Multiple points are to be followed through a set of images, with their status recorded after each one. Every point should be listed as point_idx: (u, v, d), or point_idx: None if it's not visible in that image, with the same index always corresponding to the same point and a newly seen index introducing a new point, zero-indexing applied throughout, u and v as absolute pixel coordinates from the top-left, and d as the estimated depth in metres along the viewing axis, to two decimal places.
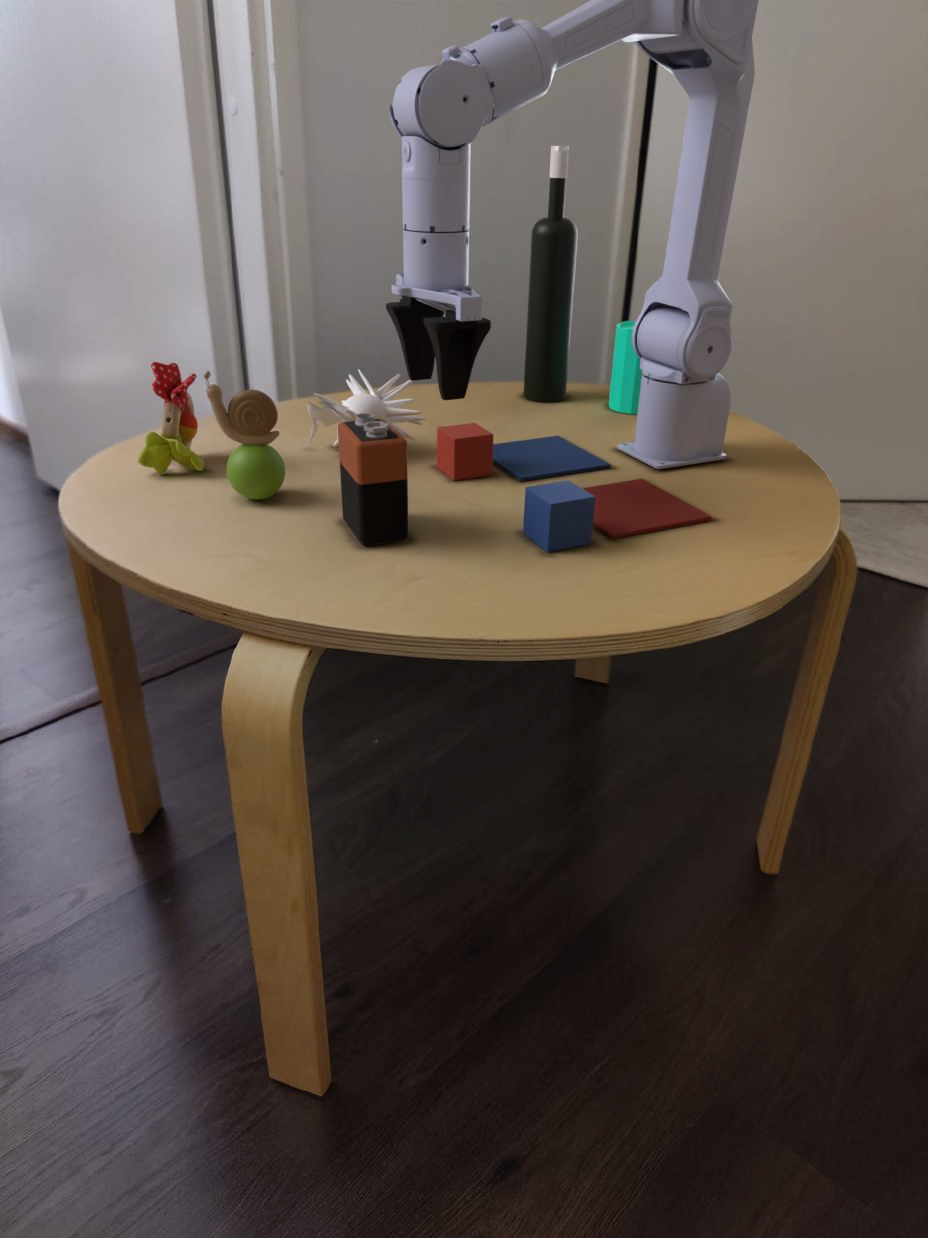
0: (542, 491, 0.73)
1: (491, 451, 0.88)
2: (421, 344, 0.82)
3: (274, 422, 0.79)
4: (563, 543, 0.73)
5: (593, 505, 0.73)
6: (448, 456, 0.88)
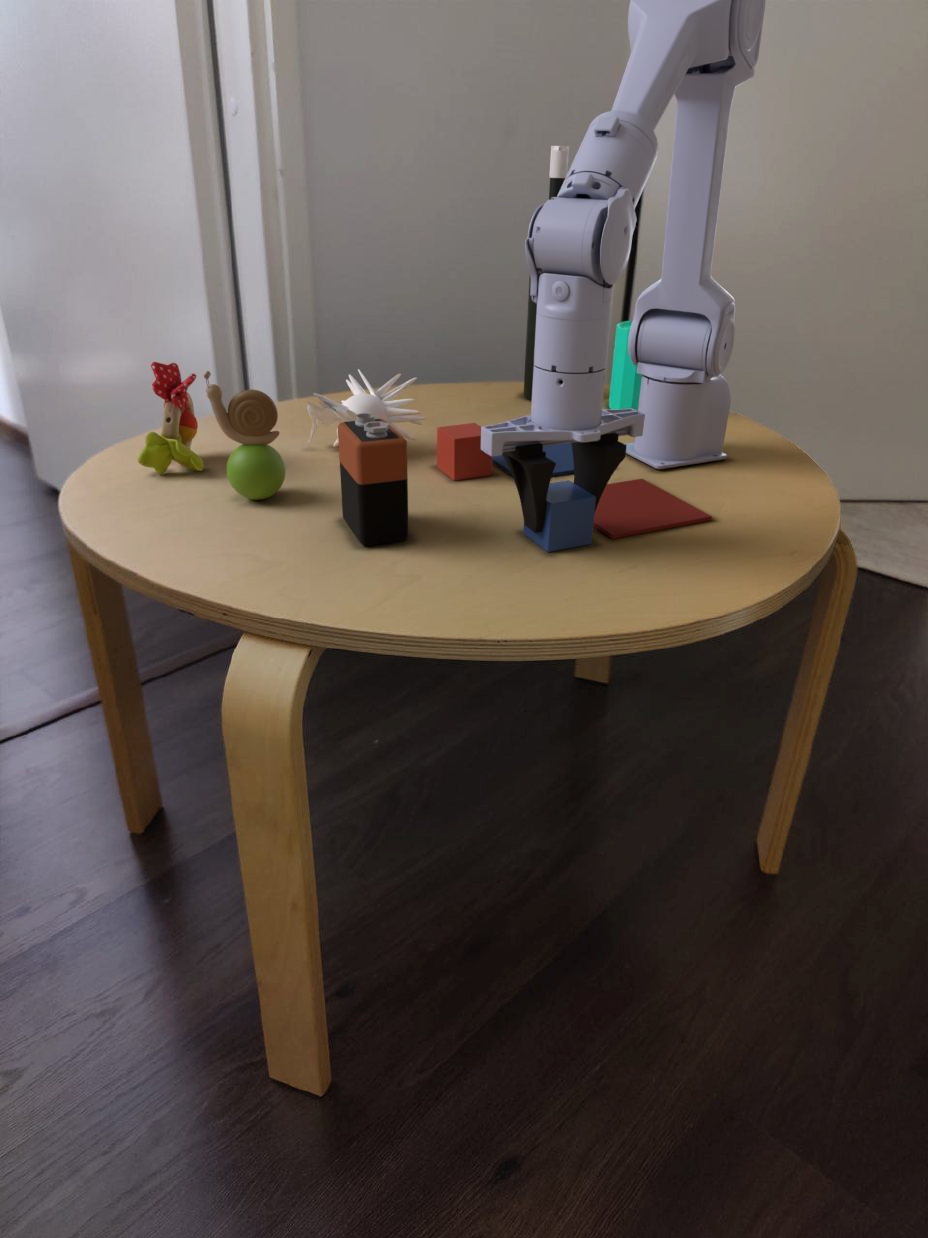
0: None
1: None
2: None
3: (274, 422, 0.79)
4: (563, 543, 0.73)
5: (593, 505, 0.73)
6: (448, 456, 0.88)
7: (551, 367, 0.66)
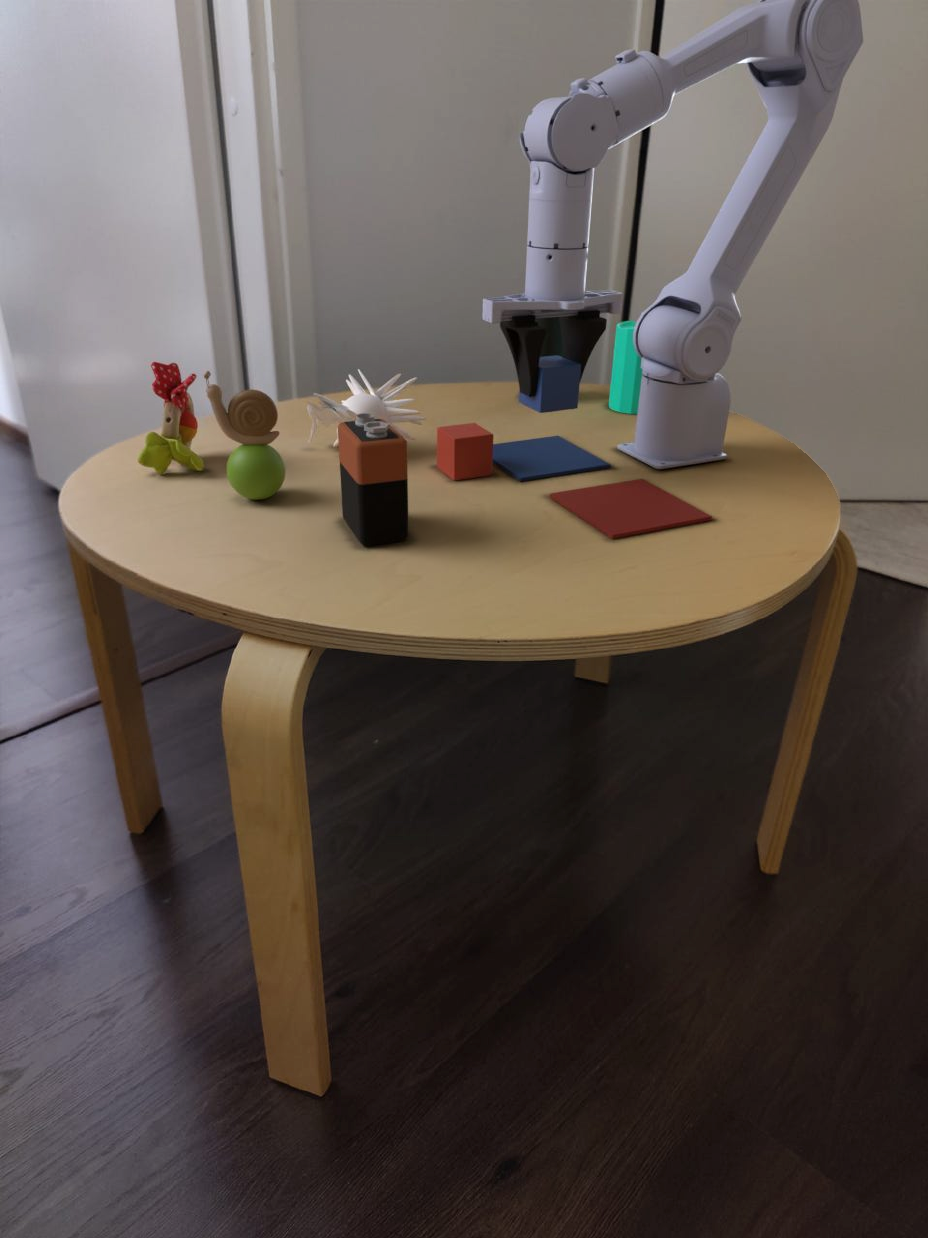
0: None
1: (491, 451, 0.88)
2: None
3: (274, 422, 0.79)
4: (553, 405, 0.86)
5: (579, 372, 0.85)
6: (448, 456, 0.88)
7: (529, 242, 0.80)
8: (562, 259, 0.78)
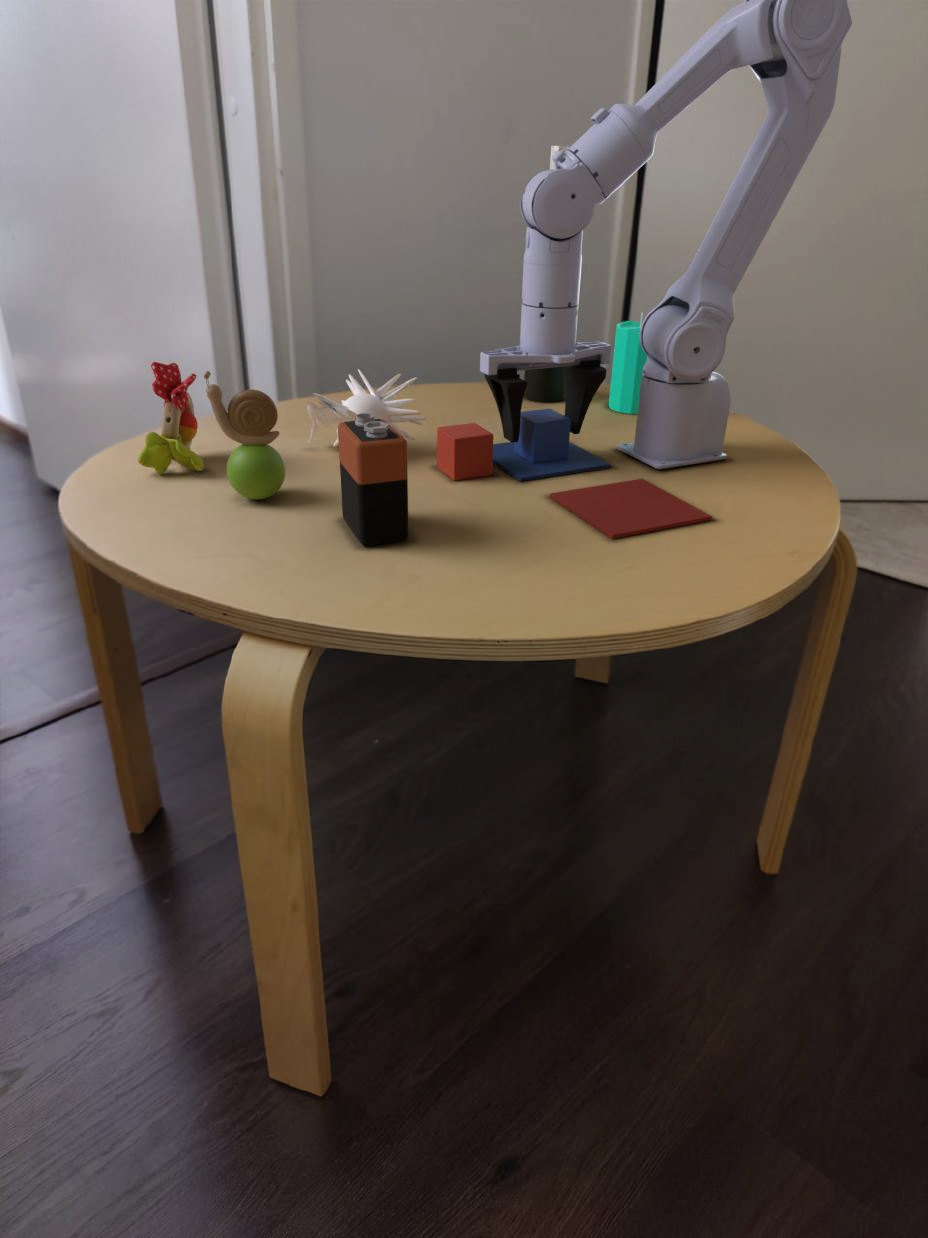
0: (528, 415, 0.92)
1: (491, 451, 0.88)
2: None
3: (274, 422, 0.79)
4: (545, 456, 0.92)
5: (569, 425, 0.92)
6: (448, 456, 0.88)
7: (522, 300, 0.86)
8: (554, 317, 0.85)
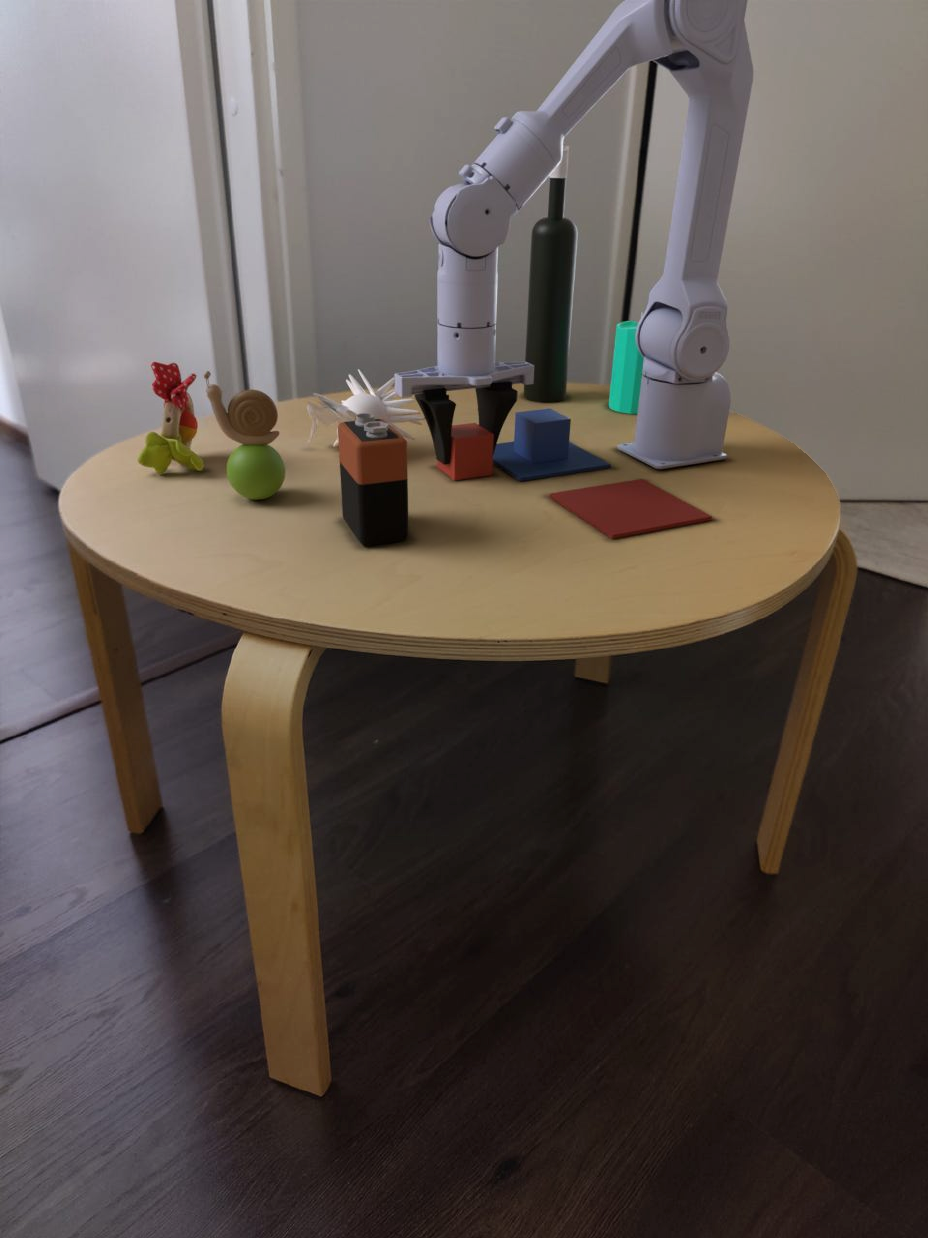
0: (528, 415, 0.92)
1: (491, 451, 0.88)
2: None
3: (274, 422, 0.79)
4: (545, 456, 0.92)
5: (569, 425, 0.92)
6: None
7: (438, 320, 0.83)
8: (468, 337, 0.81)
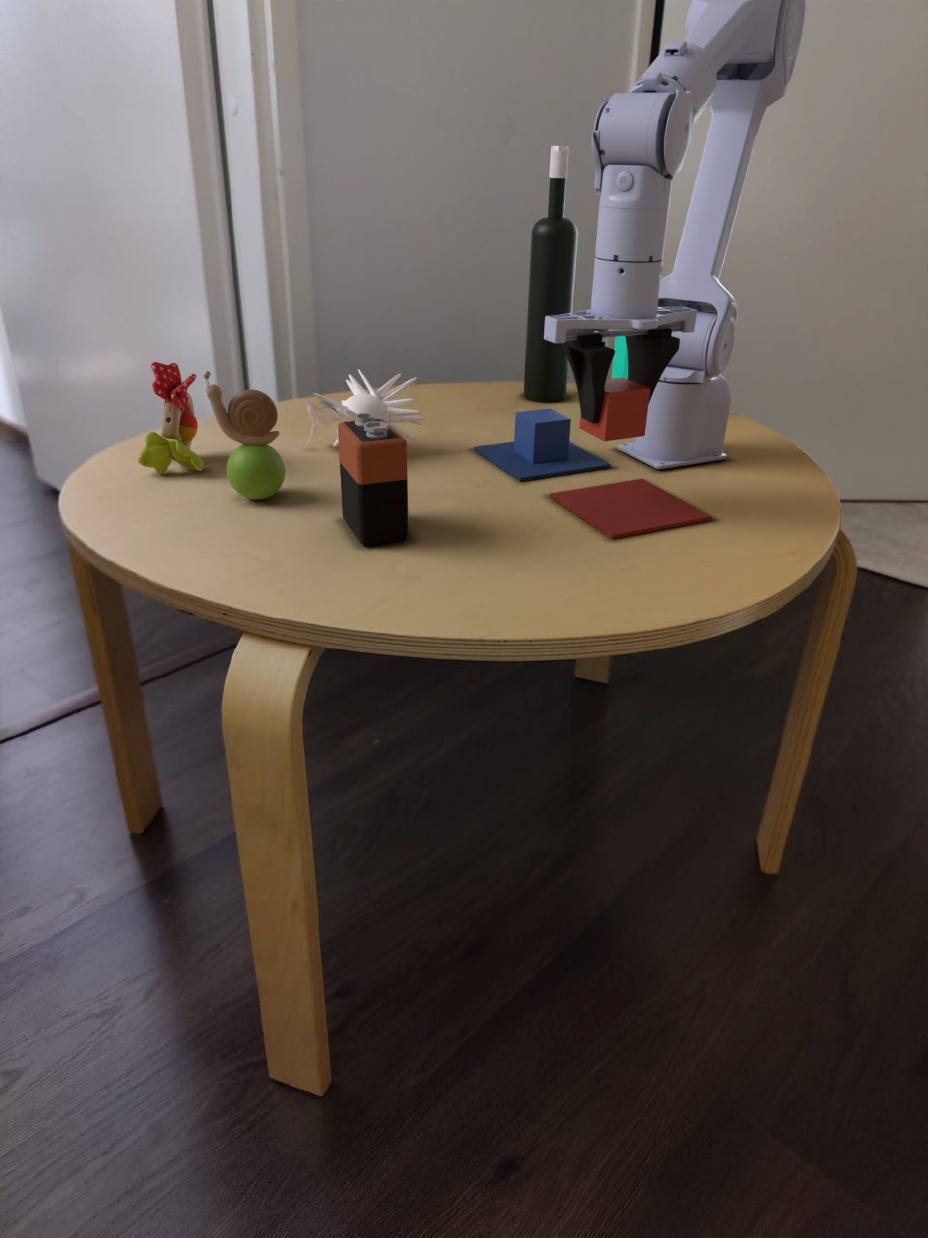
0: (528, 415, 0.92)
1: (646, 408, 0.78)
2: None
3: (274, 422, 0.79)
4: (545, 456, 0.92)
5: (569, 425, 0.92)
6: None
7: (613, 257, 0.71)
8: (635, 273, 0.71)
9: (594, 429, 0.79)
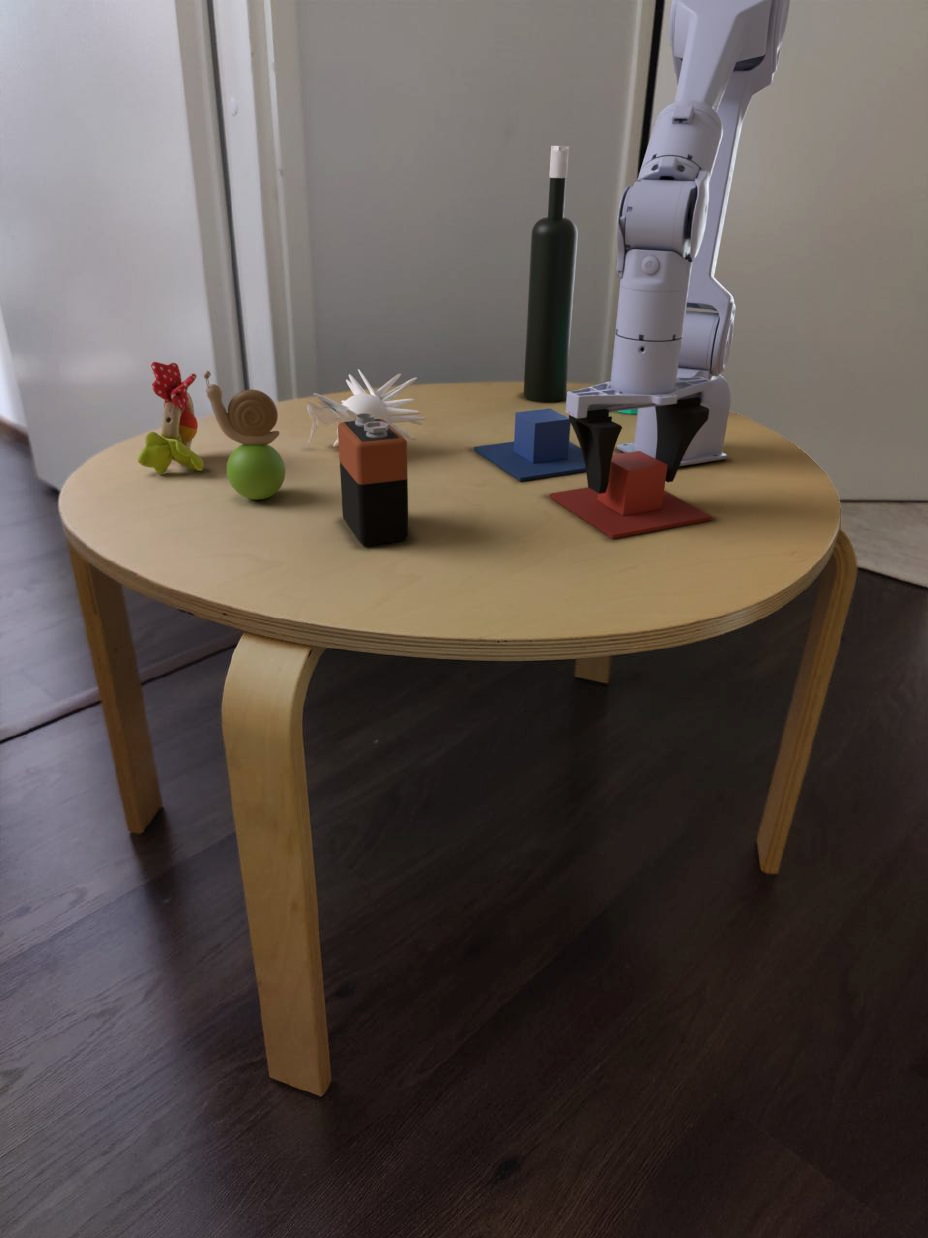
0: (528, 415, 0.92)
1: (663, 483, 0.80)
2: None
3: (274, 422, 0.79)
4: (545, 456, 0.92)
5: (569, 425, 0.92)
6: (616, 489, 0.80)
7: (638, 336, 0.72)
8: (655, 351, 0.72)
9: (612, 503, 0.81)
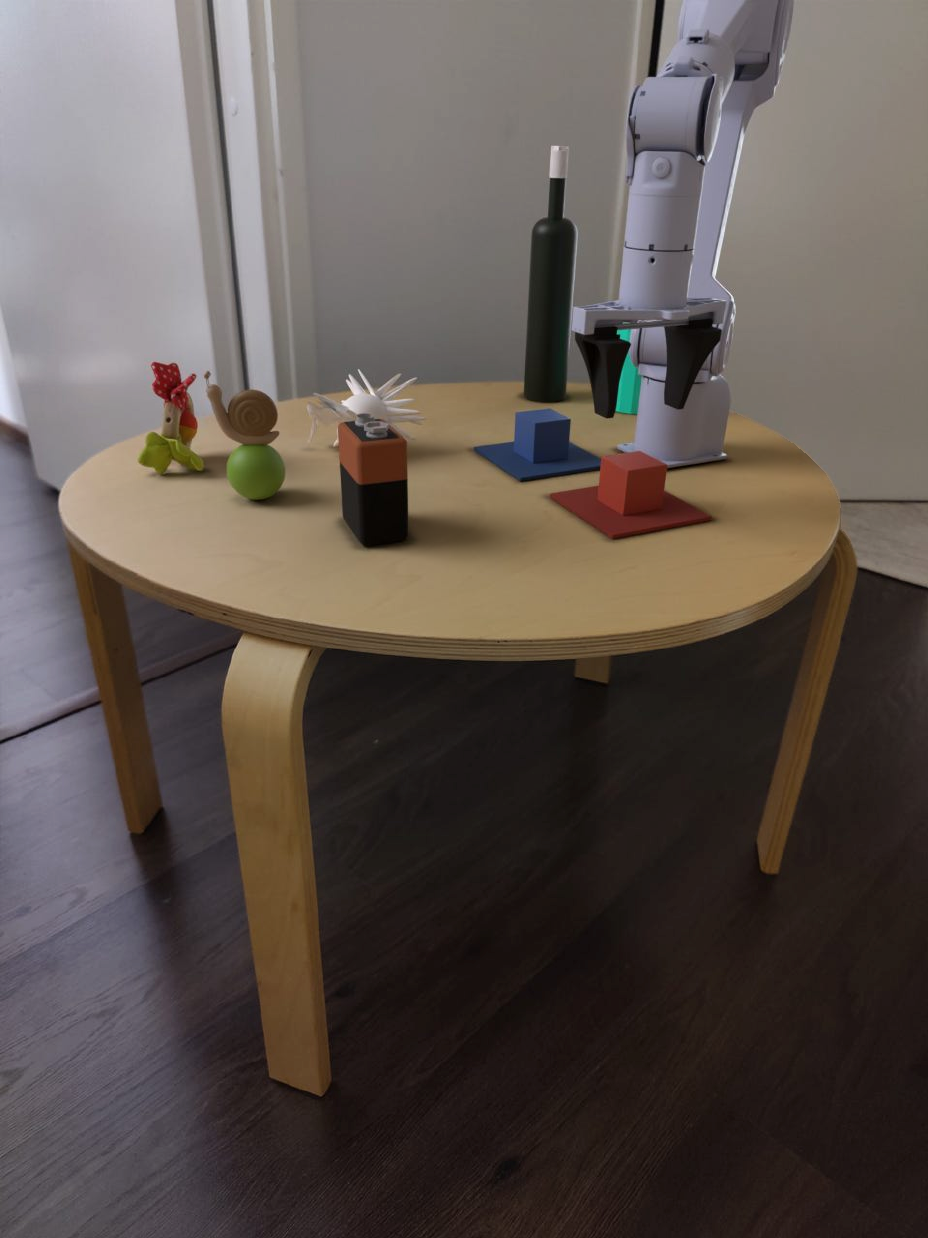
0: (528, 415, 0.92)
1: (663, 483, 0.80)
2: None
3: (274, 422, 0.79)
4: (545, 456, 0.92)
5: (569, 425, 0.92)
6: (616, 489, 0.80)
7: (648, 246, 0.69)
8: (666, 262, 0.69)
9: (612, 503, 0.81)
